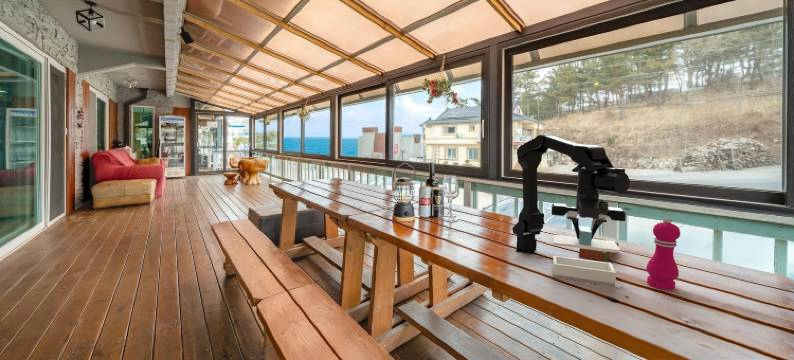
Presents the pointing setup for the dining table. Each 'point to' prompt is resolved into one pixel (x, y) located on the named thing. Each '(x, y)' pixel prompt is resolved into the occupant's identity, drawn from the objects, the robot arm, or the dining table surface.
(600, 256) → the carton
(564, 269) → the box base
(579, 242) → the lid
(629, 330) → the dining table surface
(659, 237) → the pepper mill
